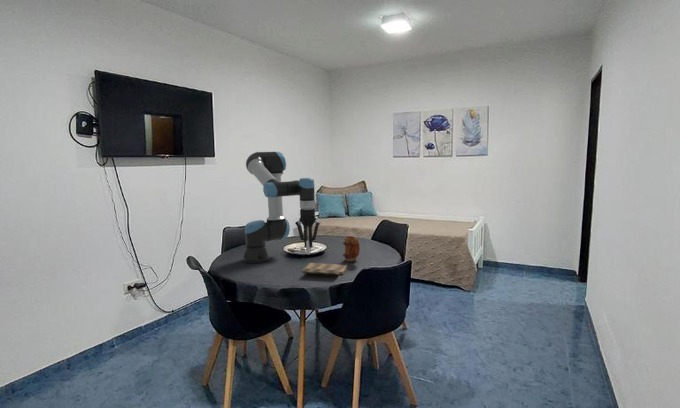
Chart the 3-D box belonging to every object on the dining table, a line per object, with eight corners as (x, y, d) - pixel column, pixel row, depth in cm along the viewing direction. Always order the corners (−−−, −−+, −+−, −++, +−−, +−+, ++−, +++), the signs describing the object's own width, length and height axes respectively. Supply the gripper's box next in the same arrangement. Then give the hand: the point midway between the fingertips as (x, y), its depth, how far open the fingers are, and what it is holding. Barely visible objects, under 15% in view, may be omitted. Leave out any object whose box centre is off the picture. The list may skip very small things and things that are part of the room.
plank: (302, 271, 194) (302, 268, 194) (306, 272, 201) (306, 269, 201) (336, 273, 190) (336, 270, 190) (339, 274, 197) (339, 271, 198)
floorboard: (303, 272, 202) (303, 269, 202) (309, 265, 214) (309, 262, 214) (343, 274, 198) (343, 272, 197) (347, 267, 209) (347, 264, 209)
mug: (341, 259, 225) (340, 235, 223) (353, 257, 228) (353, 233, 226) (351, 266, 212) (351, 240, 209) (364, 264, 215) (364, 239, 213)
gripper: (292, 209, 187) (294, 254, 190) (317, 209, 184) (319, 255, 188) (297, 207, 194) (298, 251, 198) (321, 207, 192) (322, 251, 195)
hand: (308, 253), depth 193 cm, fingers closed
